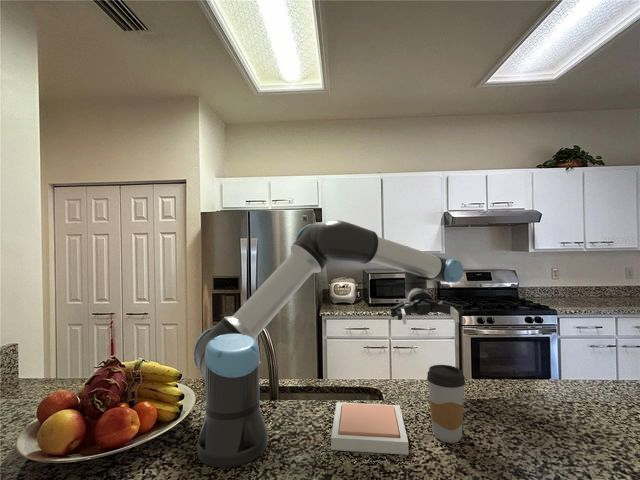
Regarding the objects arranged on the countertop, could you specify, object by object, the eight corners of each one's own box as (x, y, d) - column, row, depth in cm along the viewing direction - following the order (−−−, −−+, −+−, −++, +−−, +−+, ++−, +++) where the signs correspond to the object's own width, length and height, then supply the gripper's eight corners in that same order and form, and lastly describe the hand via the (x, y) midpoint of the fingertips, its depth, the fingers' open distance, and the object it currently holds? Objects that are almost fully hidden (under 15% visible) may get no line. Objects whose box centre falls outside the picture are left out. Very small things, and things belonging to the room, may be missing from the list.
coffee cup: (459, 426, 81) (458, 364, 81) (472, 447, 72) (470, 377, 73) (424, 425, 82) (423, 363, 82) (432, 445, 73) (431, 376, 74)
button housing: (331, 449, 72) (331, 437, 72) (336, 412, 88) (336, 402, 88) (408, 454, 70) (408, 442, 70) (399, 415, 86) (399, 405, 86)
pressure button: (339, 435, 74) (339, 431, 74) (342, 407, 87) (342, 403, 87) (399, 439, 72) (399, 434, 72) (393, 409, 85) (393, 405, 85)
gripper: (460, 311, 108) (481, 330, 87) (383, 314, 112) (384, 333, 91) (459, 288, 108) (479, 302, 87) (381, 292, 112) (382, 306, 91)
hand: (430, 318), depth 89 cm, fingers open, 13 cm apart
